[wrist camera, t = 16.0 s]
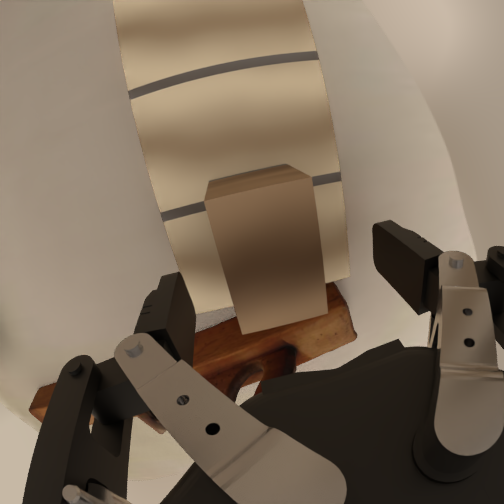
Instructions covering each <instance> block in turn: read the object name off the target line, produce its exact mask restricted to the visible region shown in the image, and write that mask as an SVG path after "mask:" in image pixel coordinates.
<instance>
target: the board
mask: <svg viewBox="0 0 504 504" xmlns="http://www.w3.org/2000/svg"><path fill="white" fill-rule="evenodd" d="M113 7H114V14H115V21H116V28H117V34H118V40H119V46H120V52H121V58H122V63H123V68H124V73H125V78H126V83H127V88H128V93H129V97H130V102H131V106H132V111H133V115H134V119H135V123H136V127H137V131H138V135H139V139H140V143H141V147H142V151H143V155H144V158H145V162H146V166H147V169H148V173H149V176H150V180H151V183H152V187H153V190H154V194H155V197H156V200H157V204H158V207H159V210H160V213H161V217H162V220H163V223H164V226H165V229H166V232H167V235H168V238H169V241H170V244H171V247H172V250H173V253H174V256H175V259H176V262H177V265H178V267H179V270H180V273H181V274H182V276H183V279H184V281H185V284H186V287H187V289H188V292H189V294H190V297H191V299H192V302H193V305H194V308H195V313H196V314H199V313H204V312H208V311H213V310H218V309H222V308H227V307H231V306H234V305H233V302H232V299H231V295H230V292H229V289H228V285H227V282H226V278H225V275H224V272H223V268H222V265H221V261H220V258H219V254H218V251H217V247H216V244H215V240H214V236H213V233H212V229H211V226H210V222H209V218H208V215H207V211H206V207H205V204H204V199H205V195H206V191H207V187H208V183H209V181H210V180H214V179H218V178H222V177H226V176H231V175H235V174H239V173H243V172H248V171H252V170H257V169H262V168H266V167H271V166H276V165H281V164H288V165H290V166H292V167H294V168H296V169H298V170H299V171H301V172H303V173H305V174H307V175H309V176H311V177H312V182H313V188H314V195H315V202H316V209H317V216H318V223H319V231H320V239H321V247H322V256H323V265H324V274H325V283H329V282H333V281H336V280H340V279H344V278H347V277H350V266H349V251H348V238H347V226H346V216H345V206H344V197H343V189H342V181H341V174H340V166H339V159H338V153H337V147H336V140H335V134H334V129H333V123H332V118H331V112H330V107H329V102H328V97H327V93H326V88H325V83H324V79H323V75H322V70H321V66H320V62H319V58H318V54H317V50H316V46H315V42H314V39H313V35H312V31H311V28H310V24H309V21H308V18H307V14H306V11H305V8H304V5H303V1H302V0H113Z"/></svg>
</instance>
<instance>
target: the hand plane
mask: <svg viewBox="0 0 504 504" xmlns="http://www.w3.org/2000/svg"><path fill="white" fill-rule="evenodd" d="M325 284H326V295H327V307H328V314H324V315H321V316H317V317H313V318H309V319H306V320H302V321H298V322H294V323H290V324H286V325H282V326H278V327H274V328H270V329H266V330H261V331H257V332H253V333H248V334H244V335H242V332H241V328H240V325H239V322H238V319H237V316H236V317H234V318H231V319H229V320H227V321H224V322H221V323H220V324H218V325H216V326H213V327H211V328H207V329H205V330H202V331H199V332H197V333H195V339H194V354H193V369H194V370H195V371H196V372H198V373H199V374H200V375H201V376H202V377H203V378H205V379H206V380H207V381H208V382H209V383H211V384H212V385H213V386H214V387H215V388H217V389H218V390H219V391H220V392H222V393H223V394H224V395H225V396H227V397H228V398H229V399H230V400H232V401H233V402H234V403H235V401H236V398H237V394H238V392H239V390H240V388H242V387H244V386H247V385H249V384H252V383H255V382H258V381H260V380H261V381H264V380H269V379H273V378H277V377H281V376H285V375H289V374H293V373H295V372H296V366H298V365H300V364H302V363H305V362H307V361H309V360H312V359H314V358H316V357H318V356H320V355H322V354H324V353H326V352H329V351H332V350H335V349H337V348H339V347H341V346H343V345H345V344H348V343H350V342H352V341H354V340H355V339H356V338H357V333H356V332H355V330H354V328H353V323H352V320H351V316H350V312H349V308H348V305H347V303H346V301H345V299H344V298H343V296H342V295H341V293H340V291H339V290H338V288H337V286H336V285H335V284H334V282H329V283H325ZM56 383H57V382H56ZM56 383H53V384H50V385H47V386H43V387H41V388H39V390H38V391H37V393H36V395H35V397H34V399H33V402H32V403H31V406H30V408H29V412H30V413H31V414H32V415H33V416H34V417H36V418H37V419H38V420H39V421H40V422H41V423H42V422H43V419H44V416H45V413H46V410H47V407H48V405H49V402H50V399H51V396H52V394H53V391H54V388H55V386H56ZM261 392H262V387H261V382H260V383H259V385H258V387H257V389H256V391H255V394H254V396H255V395H257V394H259V393H261ZM134 417H138V418H140V419H141V420H142V421H144V422H145V423H146V424H148V425H149V426H150V427H152V428H153V429H154V430H155V431H157V432H158V433H159V434H163V433H164V432H165V431H166V429H165V427H164V426H163V425H162V424H161V422H160V421H159V420H158V419H157V417H156V416H155V415H154V414H153V412H152V411H151V410H150V411H147V412H144V413H142V414H139V415H136V416H134ZM93 422H94V416H93V415H92V414H91V418H90V423H89V425H91V424H93Z"/></svg>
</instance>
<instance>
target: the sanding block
mask: <svg viewBox="0 0 504 504" xmlns="http://www.w3.org/2000/svg"><path fill="white" fill-rule="evenodd" d="M204 204H205V207H206V211H207V215H208V218H209V222H210V226H211V229H212V233H213V236H214V240H215V244H216V247H217V251H218V254H219V258H220V261H221V265H222V268H223V272H224V275H225V278H226V282H227V285H228V289H229V292H230V295H231V299H232V302H233V305H234V309H235V312H236V315H237V319H238V322H239V325H240V328H241V332H242V335H244V334H248V333H253V332H257V331H261V330H266V329H270V328H274V327H278V326H282V325H286V324H290V323H294V322H298V321H302V320H306V319H309V318H313V317H317V316H321V315H324V314H328V307H327V295H326V284H325V274H324V265H323V256H322V247H321V239H320V231H319V223H318V216H317V209H316V202H315V195H314V188H313V182H312V177H311V176H309V175H307V174H305V173H303V172H301V171H299V170H298V169H296V168H294V167H292V166H290V165H288V164H281V165H276V166H271V167H266V168H262V169H257V170H252V171H248V172H243V173H239V174H235V175H231V176H226V177H222V178H218V179H214V180H210V181H209V183H208V187H207V191H206V195H205V199H204Z"/></svg>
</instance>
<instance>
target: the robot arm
mask: <svg viewBox="0 0 504 504" xmlns="http://www.w3.org/2000/svg"><path fill="white" fill-rule="evenodd" d="M372 233H373V259H374V264H375V267H376V269H377V271H378V272H379V273H380V274H381V275H382V276H383V277H384V278H385V279H386V280H387V281H388V283H389V284H390V285H391V286H392V287H393V288H394V289H395V290H396V291H397V292H398V293H399V294H400V295H401V297H402V298H403V299H404V300H405V301H406V302H407V303H408V304H409V305H410V306H411V308H412V309H413V310H414V311H415V312H416V313H417V314H418V315H420V314H423V313H425V312H428V311H430V312H431V316H430V322H429V333H428V343H427V347H404V346H403V345H402V343H401V342H400V340H399V339H397V340H394V341H392V342H389V343H386V344H384V345H381V346H378V347H376V348H373V349H370V350H368V351H366V352H364V353H363V354H361V355H359V356H358V357H356V358H355V359H353V360H351V361H349V362H348V363H346V364H344V365H343V366H341V367H339V368H336V369H331V370H321V371H309V372H297V373H293V374H289V375H285V376H281V377H277V378H273V379H269V380H264V381H260V382H261V387H262V392H261V393H259V394H257V395H255V396H253V397H251V398H249V399H248V400H246V401H245V402H244V403H242V404H241V405H240V406H238V405H237V404H236V403H234V402H233V401H232V400H230V399H229V398H228V397H227V396H225V395H224V394H223V393H222V392H220V391H219V390H218V389H217V388H215V387H214V386H213V385H212V384H211V383H209V382H208V381H207V380H206V379H205V378H203V377H202V376H201V375H200V374H199V373H198V372H196V371H195V370H194V369H193V354H194V339H195V325H196V313H195V308H194V305H193V302H192V299H191V297H190V294H189V292H188V289H187V287H186V284H185V281H184V279H183V276H182V274H181V273H180V272H176V273H172V274H168V275H164V276H162V277H161V279H160V282H159V285H158V288H157V290H153V291H152V292H151V293H150V294H149V295H148V296H147V297H146V299H145V301H144V304H143V308H142V310H141V313H140V316H139V319H138V321H137V324H136V327H135V331H134V334H133V335H131V336H128V337H127V338H125V339H124V340H122V341H121V342H120V343H119V344H118V346H117V347H116V349H115V352H114V358H111V359H109V360H106V361H104V362H101V363H99V364H95V362H94V361H93V359H92V358H91V357H90V356H88V355H80V356H77V357H75V358H73V359H71V360H70V361H69V362H68V363H66V365H65V366H64V367H63V369H62V371H61V373H60V375H59V378H58V380H57V383H56V386H55V388H54V391H53V394H52V396H51V399H50V402H49V405H48V407H47V410H46V413H45V416H44V419H43V422H42V426H41V429H40V432H39V435H38V439H37V442H36V446H35V449H34V453H33V457H32V461H31V464H30V469H29V473H28V477H27V482H26V487H25V492H24V497H23V503H22V504H131V503H130V502H129V501H127V498H126V497H127V478H128V463H129V451H130V440H131V430H132V421H133V417H134V416H136V415H139V414H142V413H144V412H147V411H150V410H151V411H152V412H153V414H154V415H155V416H156V417H157V419H158V420H159V421H160V422H161V424H162V425H163V426H164V427H165V429H166V430H167V431H168V432H169V433H170V435H171V436H172V437H173V438H174V439H175V440H176V441H177V443H178V444H179V445H180V446H181V447H182V448H183V449H184V451H185V452H186V453H187V454H188V455H189V456H190V457H191V458H192V459H193V460H194V461H195V462H194V463H193V464H192V465H191V467H190V468H189V469H188V470H187V472H186V473H185V474H184V475H183V477H182V478H181V479H180V480H179V482H178V483H177V484H176V485H175V486H174V488H173V489H172V490H171V491H170V492H169V494H168V495H167V496H166V497H165V498H164V499H163V501H162V502H161V503H160V504H504V371H502V370H499V369H498V364H497V351H496V342H495V340H496V341H497V342H498V343H499V344H500V345H501V347H502V348H503V349H504V247H503V246H494V247H491V248H489V250H488V253H487V259H486V260H484V261H476V262H474V261H473V259H472V258H471V257H470V256H469V255H467V254H465V253H463V252H459V251H447V252H443V251H441V250H440V249H438V248H437V247H436V246H434V245H433V244H431V243H430V242H427V240H425V239H424V238H423V237H422V238H421V236H420V235H418V234H417V233H415V232H414V231H411V230H408V229H405V228H402V227H401V226H399V225H398V224H396V223H395V222H393V221H392V220H387V221H383V222H379V223H375V224H374V225H373V228H372ZM91 414H92V415H93V416H94V422H93V426H92V431H91V433H90V429H89V423H90V418H91Z"/></svg>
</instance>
